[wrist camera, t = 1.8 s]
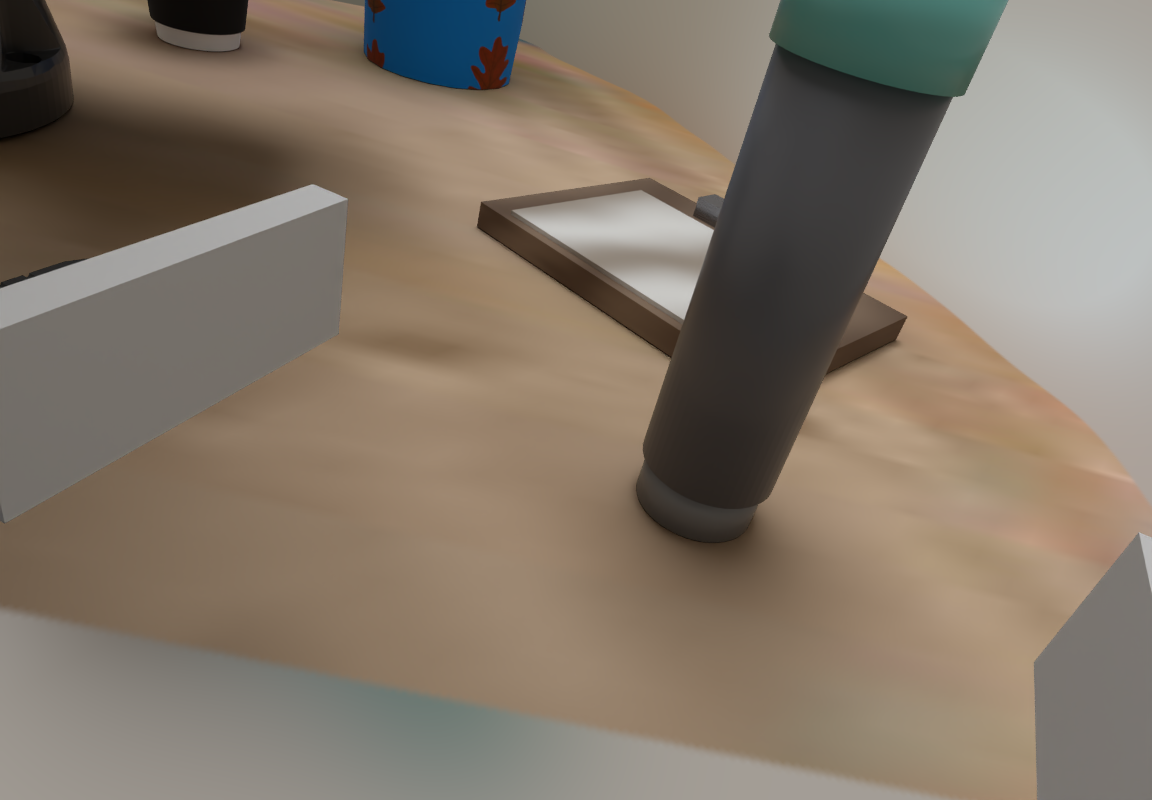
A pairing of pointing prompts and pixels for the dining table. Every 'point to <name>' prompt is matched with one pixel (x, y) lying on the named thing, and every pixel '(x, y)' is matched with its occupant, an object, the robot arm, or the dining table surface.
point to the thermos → (445, 40)
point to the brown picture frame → (641, 256)
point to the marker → (799, 242)
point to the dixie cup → (200, 23)
